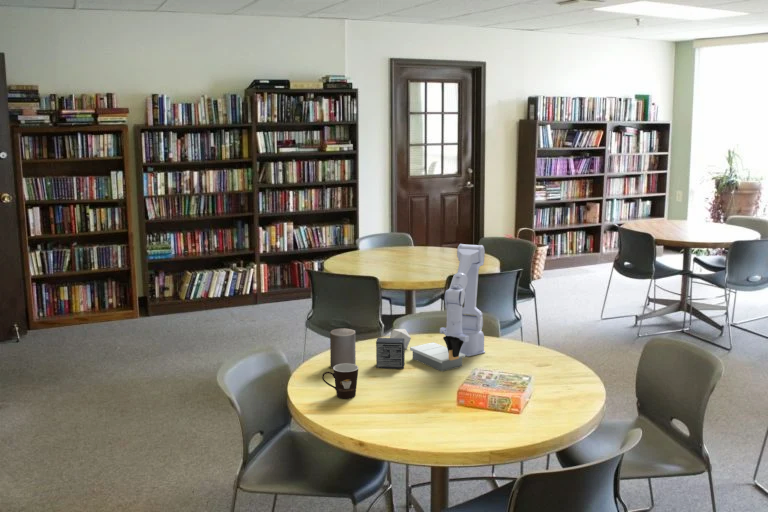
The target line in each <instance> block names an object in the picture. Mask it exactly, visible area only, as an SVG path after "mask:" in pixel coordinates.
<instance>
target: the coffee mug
mask: <svg viewBox="0 0 768 512" xmlns="http://www.w3.org/2000/svg"><path fill="white" fill-rule="evenodd" d="M326 374H330V375H331V376H332V378H333V380H334V385H335V386H334V385H333V384H331V383H329V382H327V381H326V379H325V378H324V377H325V375H326ZM358 376H359V366H358V365H357V364H356V365H354V364H338V365H335V366H334V367H333V369H332V372H331V371H325V372H323V374H322V377H321V379H322V381H323V382H324V383H325V384H326V385H328V386H329V387H332V388H333V389H334V390H335V392H336V397H337V398H338V399H341V400H350V399H351V400H352V399H354V398H355V397H356V394H357V384H358Z"/></svg>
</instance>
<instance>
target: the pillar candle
mask: <svg viewBox="0 0 768 512" xmlns="http://www.w3.org/2000/svg"><path fill="white" fill-rule="evenodd" d="M329 336H330V337H329V340H330V341H329V344H330V347H329V348H330V349H329V350H330V360H329V361H330V365H329V366H330V368H331V369H332V370H333V367H334V366H335V365H338V364H354V365H357V364H356V358H357V357H356V352H357V351H356V330H354V329H351V328H345V327H344V328H336V329H335V328H334V329H332V330H331V331H330V333H329Z"/></svg>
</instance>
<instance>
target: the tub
mask: <svg viewBox="0 0 768 512" xmlns="http://www.w3.org/2000/svg"><path fill="white" fill-rule="evenodd" d="M412 360H414V361H417V362H419V363H421V364H424V365H426V366H428V367H431V368H433V369H435V370H437V371H440V372H445V371H449V370H452V369H453V370H454V369H457V368H461V367H463V357H459V359H455V360H446V361H442V363H439V362H437V361H434V360H432V359H430V358H427V357H425V356H423V355H420V354H418V353H415V352H413V351H412Z"/></svg>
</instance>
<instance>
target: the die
mask: <svg viewBox="0 0 768 512" xmlns="http://www.w3.org/2000/svg"><path fill="white" fill-rule="evenodd" d="M389 338H404V350H407V349H408V346H409V344H410V342H411V339H412V337H411V335H410V334H409V333H408V331H407V329H406V328H398V329H397V328H396V329H395V328H394V329H392V331H391V334H390V337H389Z"/></svg>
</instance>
